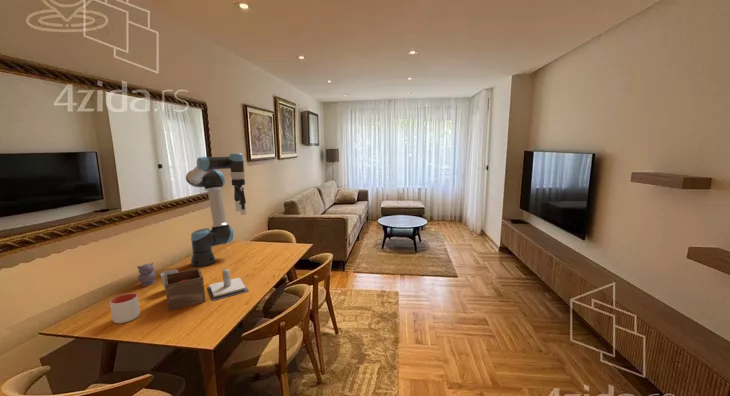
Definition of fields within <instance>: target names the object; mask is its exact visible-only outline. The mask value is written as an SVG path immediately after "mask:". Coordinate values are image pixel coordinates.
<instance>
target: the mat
mask: <svg viewBox="0 0 730 396" xmlns="http://www.w3.org/2000/svg"><path fill="white" fill-rule="evenodd" d="M241 281H242V282H243V279H241ZM243 284H244V285H245V283H244V282H243ZM245 287H246V289H243V290H241V291H237V292H233V293H229V294H225V295H221V296H218V297H217V296H215V297H214V296H213V293H212V291H211V288H210V286H207V287H206V288H207V290H208V293H209V295H210V297H211V298H210V299H211V301H212V302H213V301H217V300H221V299H225V298H230V297H232V296H236V295H240V294H244V293H247V292H250V290H249V289H248V288H247V286H246V285H245Z"/></svg>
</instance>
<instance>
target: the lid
mask: <svg viewBox="0 0 730 396" xmlns="http://www.w3.org/2000/svg"><path fill="white" fill-rule="evenodd" d="M230 271H231V269H228V268H227V269H223V270H222V281H219V282H215V283H211V284H209V287H210V288H211V291H212V293H213V296H214V297H215V296H217V297H218V296H221V295H225V294H229V293H233V292H237V291H241V290H243V289H246V287H247V286H246V285H244V284H245V283H244V282H242V281H243V280H242V279H241V277H236V278H235V277H234V278H232V279H231V272H230ZM241 280H242V281H241ZM243 283H244V284H243ZM245 286H246V287H245Z"/></svg>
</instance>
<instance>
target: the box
mask: <svg viewBox="0 0 730 396" xmlns="http://www.w3.org/2000/svg"><path fill="white" fill-rule="evenodd" d="M186 279H187V280H186ZM182 280H186V281H182ZM180 281H182V282H180ZM165 288H166V290H165V294H166V295H165V297H166V304H167V311H168V312H171V311H174V310H179V309H182V308H187V307H190V306H193V305H198V304H201V303H204V302H206V294H205V291H206V290H205V283H204V277H203V274H202V271H201V268H200V267H197V268H196V267H195V268H192V269H187V270H183V271H178V272H177V273H172V274H167V275H165ZM165 288H164V289H165Z"/></svg>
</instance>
